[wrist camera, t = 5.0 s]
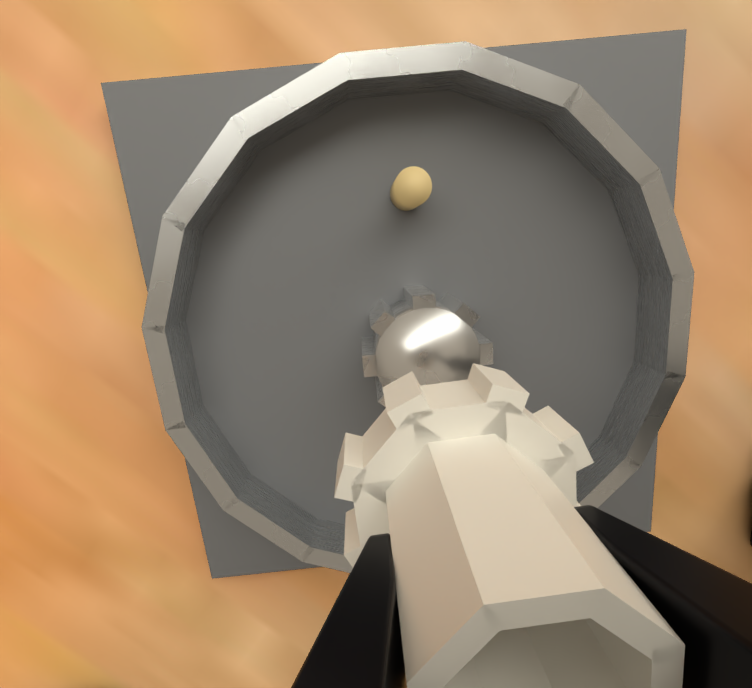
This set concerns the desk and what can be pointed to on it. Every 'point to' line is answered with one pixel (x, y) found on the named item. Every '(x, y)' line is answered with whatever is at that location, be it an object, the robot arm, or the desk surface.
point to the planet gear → (496, 544)
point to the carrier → (396, 257)
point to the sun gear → (423, 340)
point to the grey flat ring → (400, 77)
